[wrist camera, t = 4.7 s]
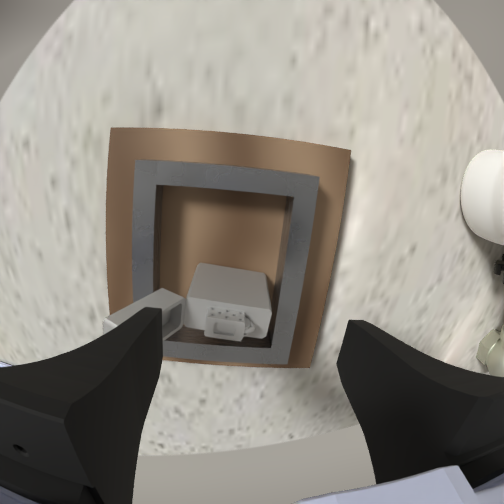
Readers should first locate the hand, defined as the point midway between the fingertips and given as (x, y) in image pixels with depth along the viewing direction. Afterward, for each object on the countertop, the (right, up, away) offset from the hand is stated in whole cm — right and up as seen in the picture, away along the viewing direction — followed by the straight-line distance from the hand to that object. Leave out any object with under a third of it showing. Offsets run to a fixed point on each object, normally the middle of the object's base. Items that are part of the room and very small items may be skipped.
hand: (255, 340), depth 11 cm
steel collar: (-2, +3, +8) cm, 8 cm away
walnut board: (-2, +3, +9) cm, 9 cm away
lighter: (-3, +2, +8) cm, 9 cm away
